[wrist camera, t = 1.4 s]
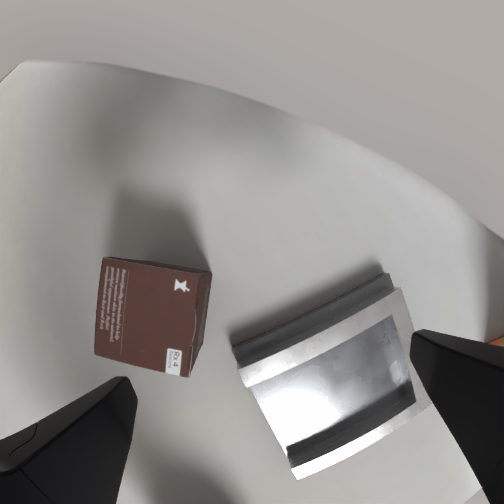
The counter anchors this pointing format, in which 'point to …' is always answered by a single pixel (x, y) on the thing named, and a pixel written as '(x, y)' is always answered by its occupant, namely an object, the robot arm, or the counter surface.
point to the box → (151, 314)
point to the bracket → (336, 375)
